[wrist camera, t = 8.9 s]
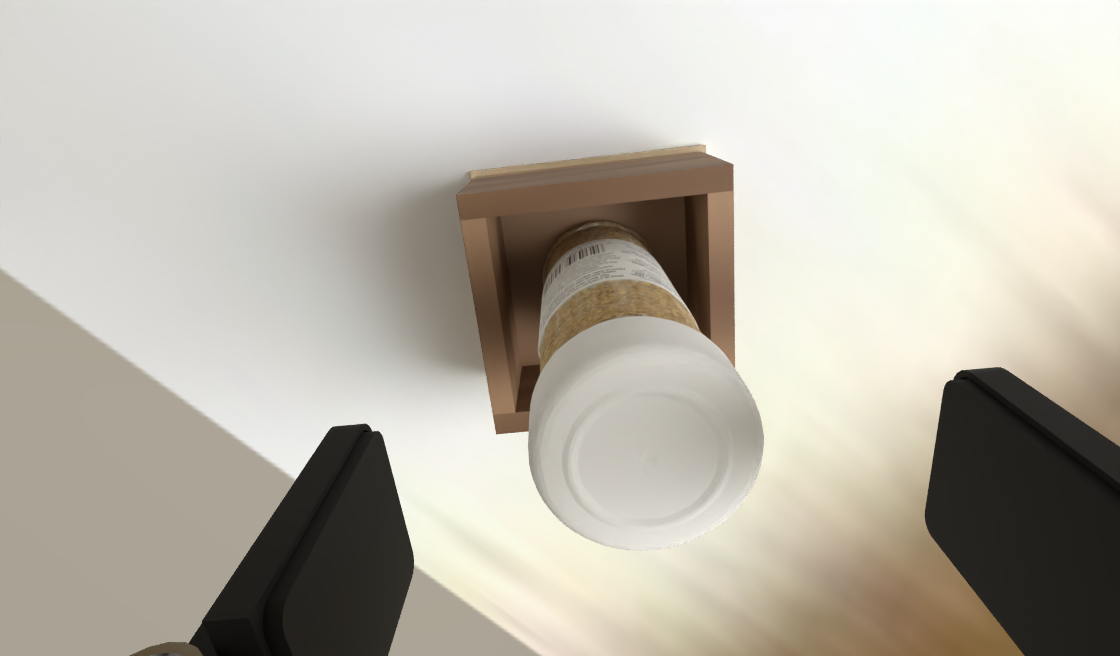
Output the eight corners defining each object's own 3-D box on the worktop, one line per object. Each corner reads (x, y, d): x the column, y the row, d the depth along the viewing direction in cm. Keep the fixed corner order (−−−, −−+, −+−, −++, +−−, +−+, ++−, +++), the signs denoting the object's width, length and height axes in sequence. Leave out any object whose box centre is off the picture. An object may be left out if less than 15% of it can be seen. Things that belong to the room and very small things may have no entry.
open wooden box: (471, 171, 24) (448, 189, 19) (704, 144, 23) (739, 157, 19) (503, 379, 27) (491, 439, 22) (709, 359, 26) (740, 415, 22)
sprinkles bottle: (567, 344, 25) (577, 588, 12) (524, 242, 24) (486, 401, 11) (673, 305, 24) (796, 519, 12) (636, 198, 23) (733, 312, 10)
